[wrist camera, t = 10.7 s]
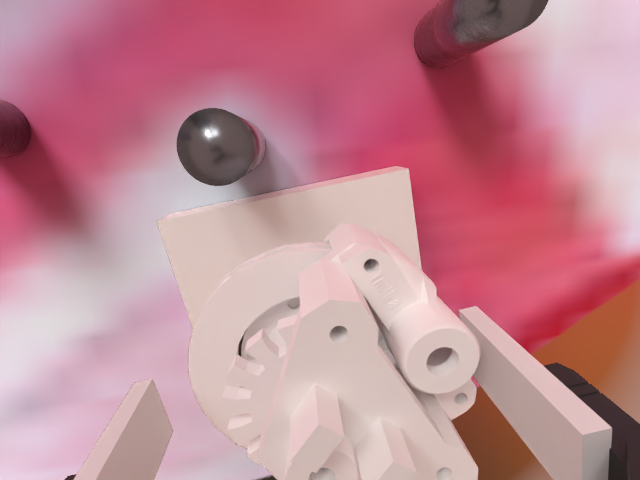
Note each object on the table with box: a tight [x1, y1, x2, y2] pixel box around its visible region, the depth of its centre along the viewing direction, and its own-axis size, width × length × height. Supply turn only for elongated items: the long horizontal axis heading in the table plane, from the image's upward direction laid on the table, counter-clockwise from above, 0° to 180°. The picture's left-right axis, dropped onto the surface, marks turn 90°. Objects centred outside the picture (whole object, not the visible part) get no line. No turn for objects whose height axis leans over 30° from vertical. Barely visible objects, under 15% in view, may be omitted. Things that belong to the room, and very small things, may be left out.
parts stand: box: [157, 166, 422, 329], centre depth 23 cm, size 14×14×2 cm
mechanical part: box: [188, 223, 481, 480], centre depth 16 cm, size 11×12×12 cm
